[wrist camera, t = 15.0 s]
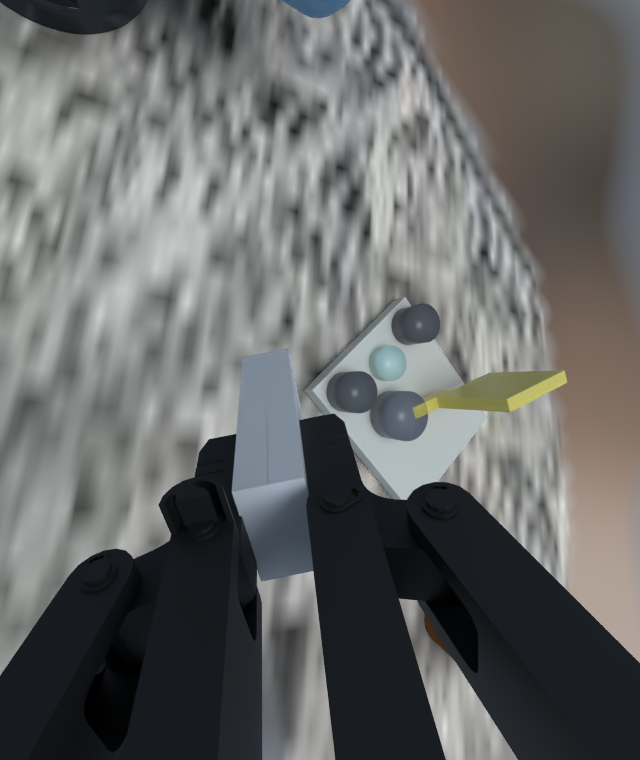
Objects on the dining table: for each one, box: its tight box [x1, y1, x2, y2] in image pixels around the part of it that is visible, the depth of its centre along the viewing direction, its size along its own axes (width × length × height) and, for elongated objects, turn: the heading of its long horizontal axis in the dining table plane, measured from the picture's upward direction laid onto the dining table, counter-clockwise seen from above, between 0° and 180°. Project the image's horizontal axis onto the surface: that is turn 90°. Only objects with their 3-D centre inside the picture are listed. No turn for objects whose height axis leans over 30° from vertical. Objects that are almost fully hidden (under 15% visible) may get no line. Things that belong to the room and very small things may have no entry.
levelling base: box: [304, 297, 487, 500], centre depth 50 cm, size 18×15×5 cm
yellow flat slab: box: [371, 370, 567, 441], centre depth 46 cm, size 14×5×12 cm, turn 109°
